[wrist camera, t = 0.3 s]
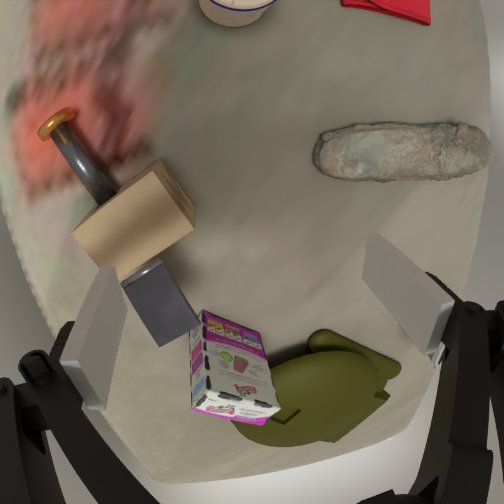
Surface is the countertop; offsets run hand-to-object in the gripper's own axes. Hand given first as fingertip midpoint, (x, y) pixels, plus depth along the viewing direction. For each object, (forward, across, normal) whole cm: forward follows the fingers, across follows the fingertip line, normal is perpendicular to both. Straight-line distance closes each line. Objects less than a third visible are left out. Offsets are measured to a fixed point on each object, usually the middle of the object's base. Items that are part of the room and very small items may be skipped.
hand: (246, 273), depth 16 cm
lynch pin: (+27, -16, +3) cm, 32 cm away
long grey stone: (+28, +30, +2) cm, 41 cm away
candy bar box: (+27, -1, -27) cm, 38 cm away
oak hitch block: (+27, -10, -4) cm, 29 cm away
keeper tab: (+17, -8, -13) cm, 23 cm away
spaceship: (+28, +14, -48) cm, 57 cm away
